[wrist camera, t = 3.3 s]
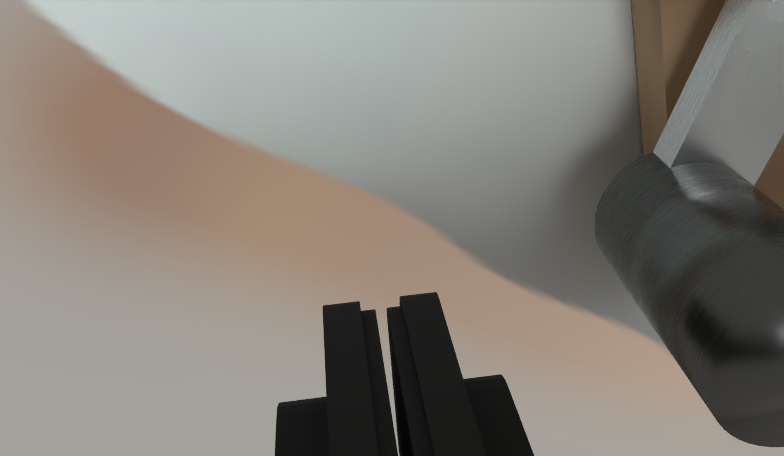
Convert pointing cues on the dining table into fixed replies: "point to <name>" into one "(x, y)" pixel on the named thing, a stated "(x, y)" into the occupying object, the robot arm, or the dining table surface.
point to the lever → (714, 225)
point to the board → (680, 70)
